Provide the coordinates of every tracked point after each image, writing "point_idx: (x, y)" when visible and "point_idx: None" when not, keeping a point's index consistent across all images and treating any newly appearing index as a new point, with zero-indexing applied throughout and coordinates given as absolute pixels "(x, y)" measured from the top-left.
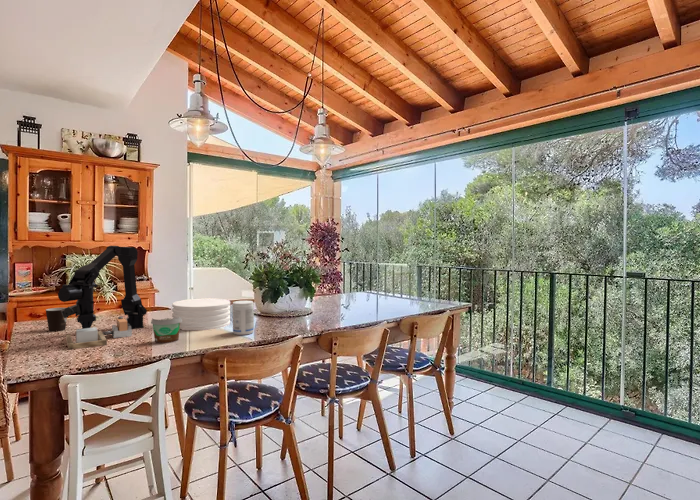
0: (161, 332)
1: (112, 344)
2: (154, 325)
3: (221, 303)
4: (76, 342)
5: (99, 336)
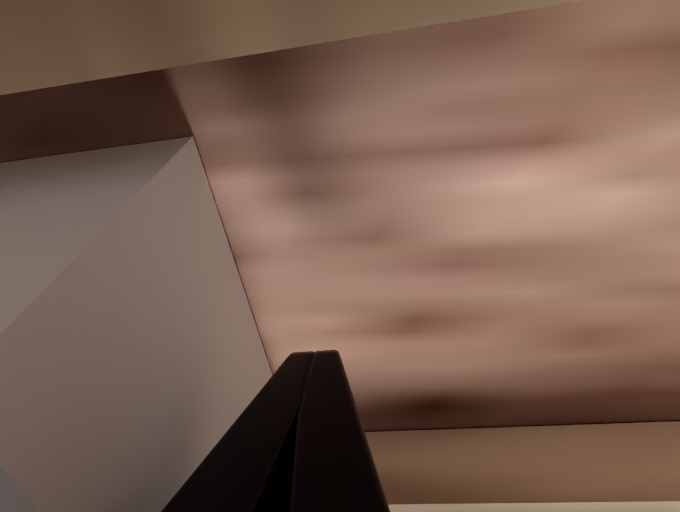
0: None
1: None
2: None
3: None
4: (71, 167)
5: None
